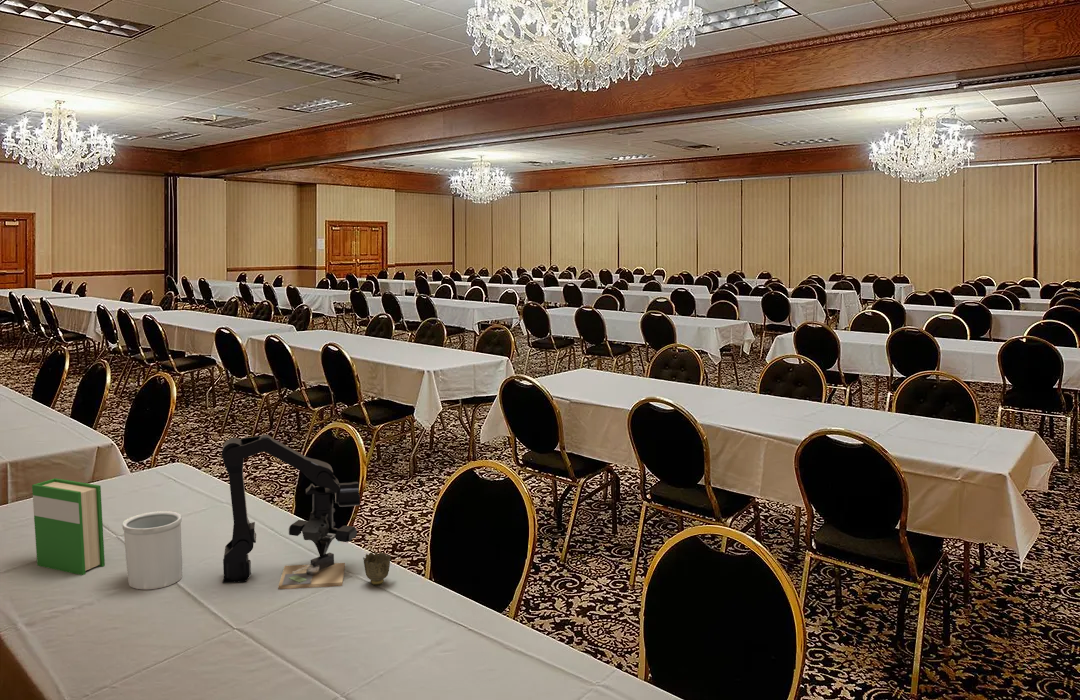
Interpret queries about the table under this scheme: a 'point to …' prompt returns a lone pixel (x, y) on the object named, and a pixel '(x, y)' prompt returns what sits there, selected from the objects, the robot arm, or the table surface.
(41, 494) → the hardback book
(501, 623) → the table surface
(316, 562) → the peg knob
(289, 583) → the tuner board
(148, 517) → the utensil holder
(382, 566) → the cup
